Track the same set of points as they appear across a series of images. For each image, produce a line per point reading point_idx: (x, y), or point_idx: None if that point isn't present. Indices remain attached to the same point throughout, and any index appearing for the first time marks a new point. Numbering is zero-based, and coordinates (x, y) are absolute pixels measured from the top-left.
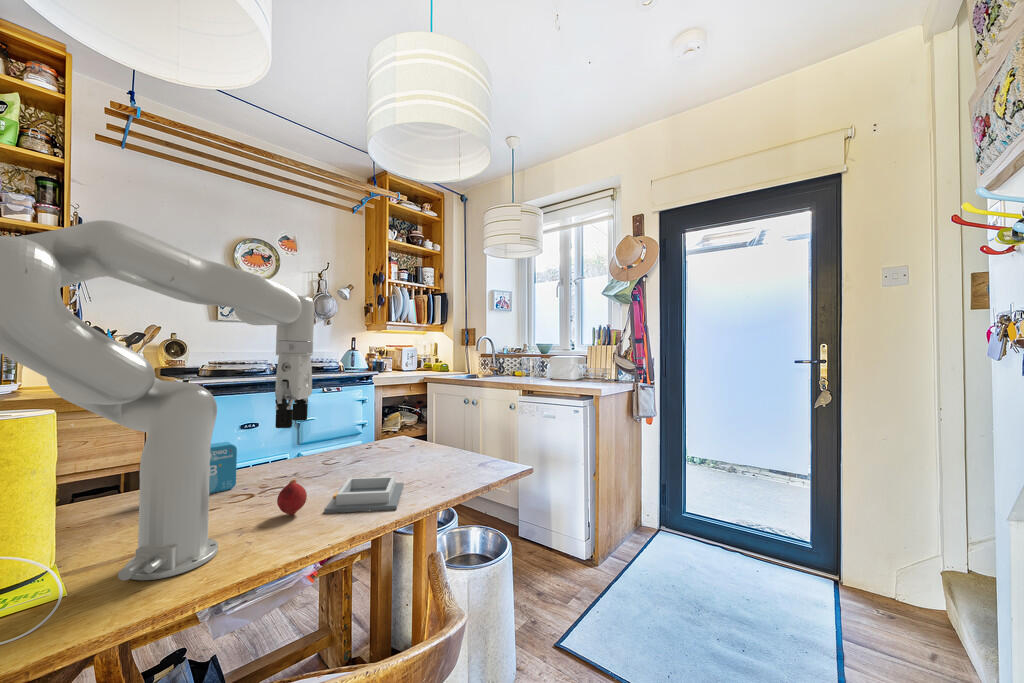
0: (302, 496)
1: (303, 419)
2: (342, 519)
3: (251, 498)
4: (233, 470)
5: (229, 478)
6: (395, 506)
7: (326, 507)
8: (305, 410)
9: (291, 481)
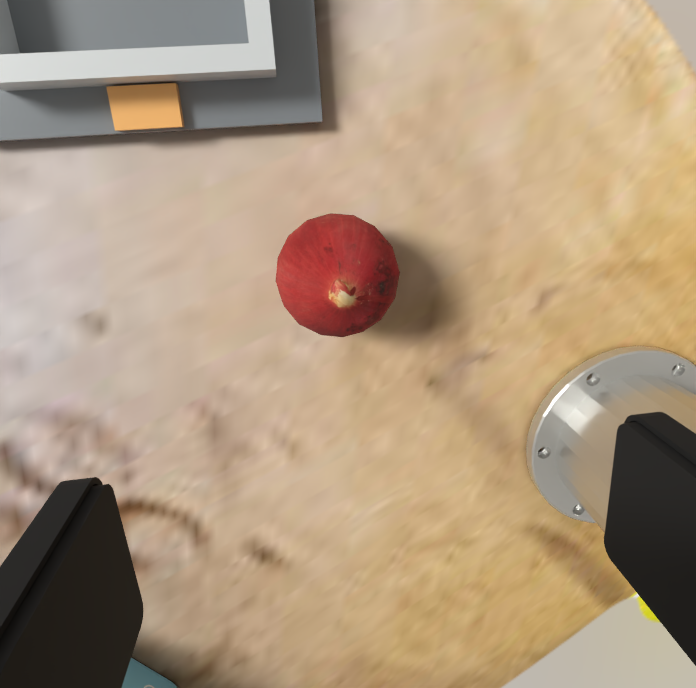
0: (358, 222)
1: (114, 506)
2: (393, 7)
3: (154, 496)
4: None
5: None
6: None
7: (303, 118)
8: (56, 586)
9: (353, 299)
